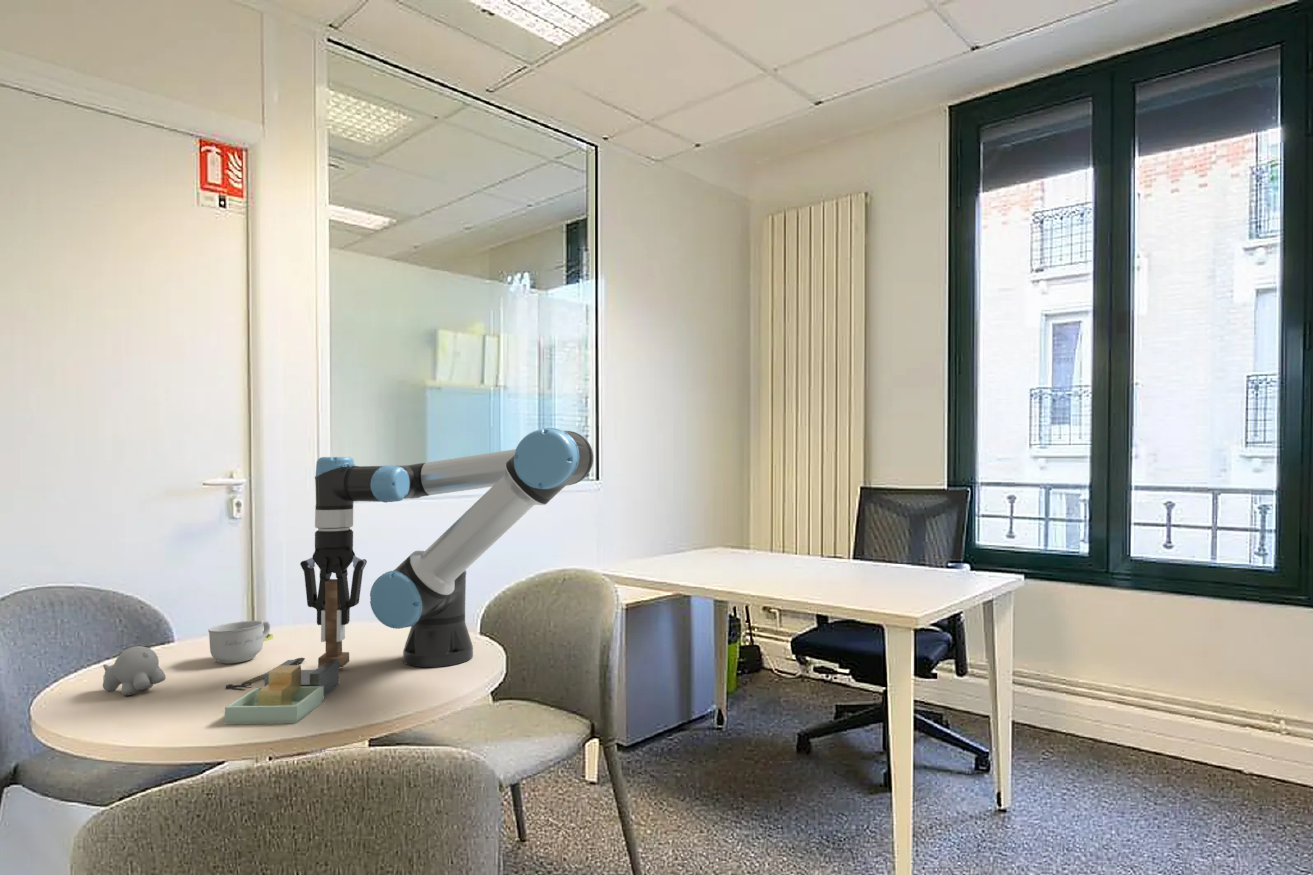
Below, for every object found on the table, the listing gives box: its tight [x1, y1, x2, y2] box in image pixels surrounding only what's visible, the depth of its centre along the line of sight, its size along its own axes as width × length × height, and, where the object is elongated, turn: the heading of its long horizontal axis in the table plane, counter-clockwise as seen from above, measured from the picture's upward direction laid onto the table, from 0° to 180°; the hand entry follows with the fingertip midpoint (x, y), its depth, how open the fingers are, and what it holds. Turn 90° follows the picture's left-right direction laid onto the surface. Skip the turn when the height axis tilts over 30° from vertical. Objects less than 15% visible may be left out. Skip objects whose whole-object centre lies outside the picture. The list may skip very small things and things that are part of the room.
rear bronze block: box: [268, 664, 302, 694], centre depth 138 cm, size 4×4×4 cm
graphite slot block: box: [263, 659, 340, 698], centre depth 146 cm, size 10×10×5 cm
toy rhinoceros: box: [102, 645, 167, 697], centre depth 147 cm, size 7×12×8 cm, turn 75°
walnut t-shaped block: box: [317, 578, 350, 668], centre depth 162 cm, size 5×4×18 cm
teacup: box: [207, 619, 271, 665], centre depth 171 cm, size 14×11×8 cm
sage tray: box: [224, 686, 324, 725], centre depth 135 cm, size 12×12×3 cm
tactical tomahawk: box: [224, 657, 305, 692], centre depth 158 cm, size 21×7×1 cm, turn 166°
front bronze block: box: [258, 683, 292, 706], centre depth 134 cm, size 4×4×4 cm
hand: (333, 639), depth 161 cm, fingers closed on walnut t-shaped block, 2 cm apart
